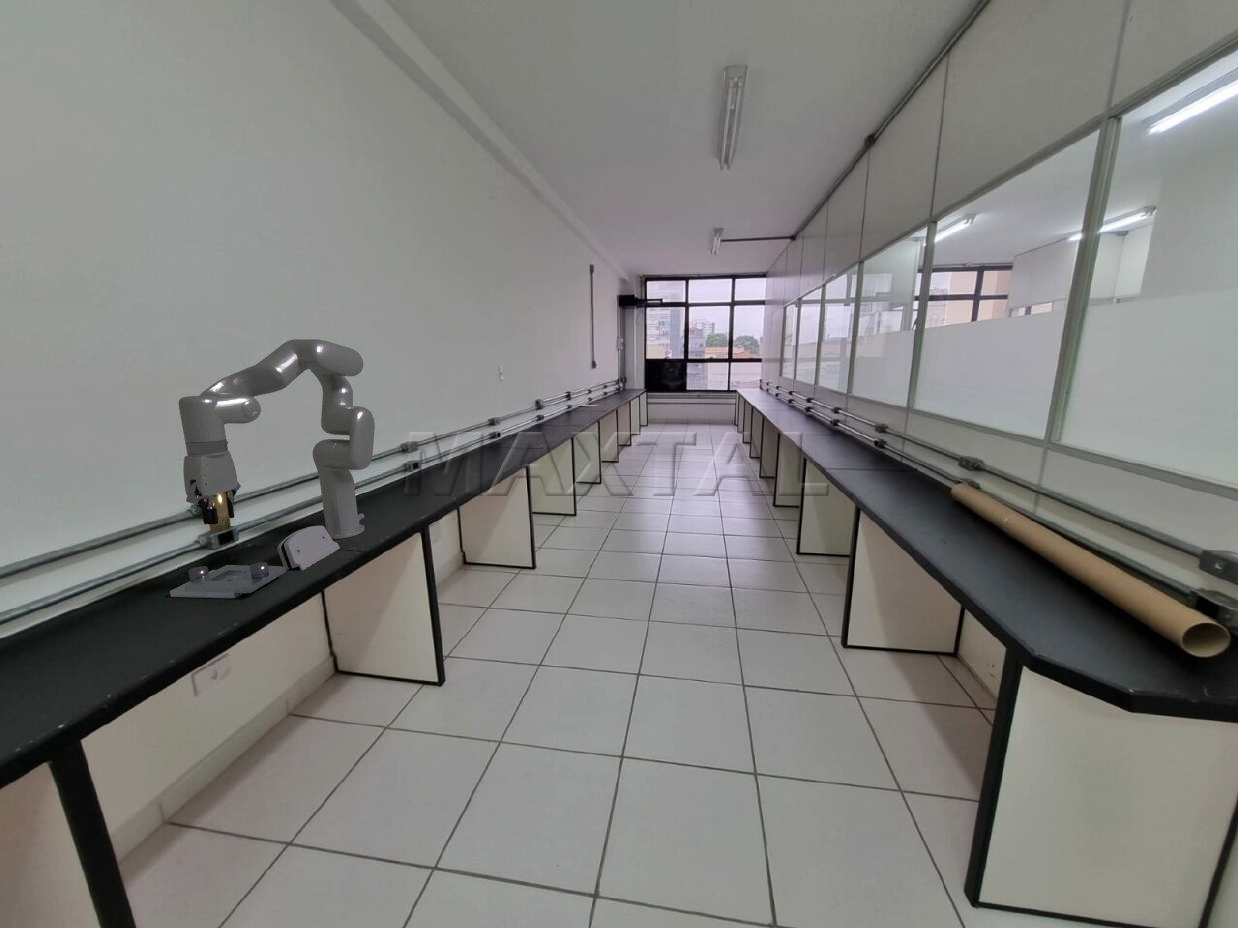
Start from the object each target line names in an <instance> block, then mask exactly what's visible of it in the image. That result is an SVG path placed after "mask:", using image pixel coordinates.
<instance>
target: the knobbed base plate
mask: <svg viewBox="0 0 1238 928" xmlns="http://www.w3.org/2000/svg"><path fill="white" fill-rule="evenodd" d="M285 573H287V570H286V568H285V566H281V565H269V564H268V562H267V561H266V562H264V561H261V562H260V561H259V562H255V563H253V564H251V565H246V564H245V565H241V564H237V565H236V564H226V565H224V566H221V567H220V568H218V569H212V570H210V571H209V568H208V566H205V565H203V566H202V565H201V566H197V567H192V568H190V569H189V570H188V576H189V581H187V582H186V583H183V584H181V585H180V586H177V587H176V588H173V589H171V590H169V593H170V594H169V595H170V597H171V598H196V599H197V598H199V599H200V598H201V599H205V598H206V599H237V598H238V597H240V596H242V595H244V594H251V593H253V592H255V591H257V590H258V589H260V588H261V587H263V586H264V585H266V584H268V583H270V582H271V581H273V580H274V579H276V578H278V577H280V576H281V575H283V574H285Z"/></svg>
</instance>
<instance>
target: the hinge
mask: <svg viewBox="0 0 1238 928" xmlns="http://www.w3.org/2000/svg"><path fill="white" fill-rule="evenodd" d="M339 549H340V545H339V544H338V542H336V541H334V539H331V537H330V535H329V534H328V532H327V531H326V526H324V525H312V526H307V527H305V528H301V529H298V530H296V531H294V532H292V533H291V534H289V535H288V536H286V537H285V538H284V539H283V540H282V541H280V543H279V544H278V545H277V549H276V550H277V553H278V555H279V557H280V560H281V562H282V565H283V566H285V568H286V571H288V570H290V569H294V568H297V567H299V570H300V571H304V570H306V569H308V568H309V567H311V566H313V565H314V564H316V563H318V562H319V561H321V560H323V559H325V558H326V557H328V556H329V555H331V554H333V553H335V552H336V551H338V550H339ZM317 561H318V562H317ZM312 564H313V565H312ZM307 567H308V568H307Z"/></svg>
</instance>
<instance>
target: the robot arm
mask: <svg viewBox="0 0 1238 928" xmlns="http://www.w3.org/2000/svg"><path fill="white" fill-rule="evenodd" d="M363 368H364V360H363V358H362V355H361V354H360V353H359V352H358V351H357V350H355V349H354V348H351V347H348V346H345V345H341V344H337V343H335V342H331V341H327V340H324V339H323V340H322V339H318V338H313V339H310V338H305V339H302V338H300V339H299V338H297V339H296V338H294V339H289V340H287V341H286V342H283V343H282V344H280V346H278V347H277V348H276V349H275V350H273V351H272V352H271V353H270V354H268V355H266V357H264V358H263V359H262V360H260V361H258V363H256V364H254V365H252V366H250V367H249V366H248V367H246V368H244V369H242V370H240V371H236V372H234V373H233V374H232V373H231V374H230V375H227V376H224V377H223V378H221V379H219V380H217V381H216V382H214V383H213V384H212V385H210V386H209V387H208V388H206V389H204V391H202V392H201V393H200V394H199V395H189V396H188V395H187V396H184V397H181V398H179V400H178V409H179V415H180V420H181V427H182V432H183V437H184V442H185V444H184V445H185V449H186V450H185V451H186V455H185V456H184V459H183V468H182V469H183V483H184V491H185V494H186V496H187V497H186V499H185V502H187V503H189V504H193V505H194V506H196V507H197V508H198V509H199V510H200V511H201V514H202V522H203V524H204V525H209V524H214V525H215V524H218V517H217V511H216V508H213V496H214V495H217V494H219V493H222V492H226V498H227V505H228V511H229V517H230V519H234V518H235V511H234V510H235V509H234V504H233V503H234V502H235V496H236V495H237V492H238V490H240V488H241V487H242V486H241V484H240V482H239V481H238V475H237V470H236V466H235V463H234V460H233V456H232V454H231V452H230V451H229V448H228V445H229V441H228V440H227V435H226V428H225V425H227V424H237V425H238V424H240V425H241V424H250V423H252V422H254V421H256V420H257V419H258V418H259V416H260V415H261V412H262V407H261V404H260V402H259V400H257V398H255V397H258V396H263V395H269V394H272V393H277V392H278V391H279V392H280V391H282V390H284V389H286V388H287V387H288V386H289V385H290V384H291V383H292V382H293V381H295V380H296V379H297V378H299V376H300V375H302V374H303V373H304V372H305V371H307V370H309V371H310V372H311V373H312V374H313V375H314V376H315V378H316V379H317V381H319V384H320V386H321V389H322V402H321V415H320V416H321V417H320V426H321V429H322V431H323V432H324V433H326V434H327V435H328V434H329V435H333V436H348V437H349V439H343V438H341V439H340V438H328V439H323V440H320V441H318V442H317V443H316V444H315V445H314V447H313V449H312V460H313V462H314V464H315V467H316V470H317V474H318V478H319V485H320V491H321V492H320V493H321V501H322V507H323V508H322V509H323V510H322V511H323V514H324V515H323V517H324V524H325V529H326V531H327V532H328V534H329V535H330V537H331V539H332V540H341V539H346V538H347V539H348V538H352V537H355V536H358V535H361V534H362V533H363V532H364V531H365V525H364V524H361V523H360V522H361V521H360V520H362V519H364V518H365V514H364V513H361V512H360V513H359V514H358V507H357V498H356V488H355V479H354V477H353V474H352V472H351V471H352V470H354V471H356V470H357V471H361V470H364V469H367V468H368V467H369V466H370V464H371V461H372V460H373V454H374V441H375V429H376V426H375V425H376V423H375V418H374V415H373V413H372V411H370V410H369V409H368V408H367V407H364V406H360V405H354V390H353V387H352V385H351V384H350V382H349V381H348V379H347V378H346V377H356V376H358V375H359V374H361V372H362V371H363ZM205 499H207V502H205Z"/></svg>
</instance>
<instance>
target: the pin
mask: <svg viewBox="0 0 1238 928" xmlns="http://www.w3.org/2000/svg"><path fill="white" fill-rule="evenodd" d="M205 502H207V499H205ZM213 508H216V511H217V517H218V524H215V525H214V524H208V525H209V531H210V532H212V533H213V532H214V533H215V532H218V533H219V532H224V531H228V530H230V529H232V525H231V518H230V517H229V511H228V505H227V498H226V492H222V493H219V494H217V495H214V496H213Z"/></svg>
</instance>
